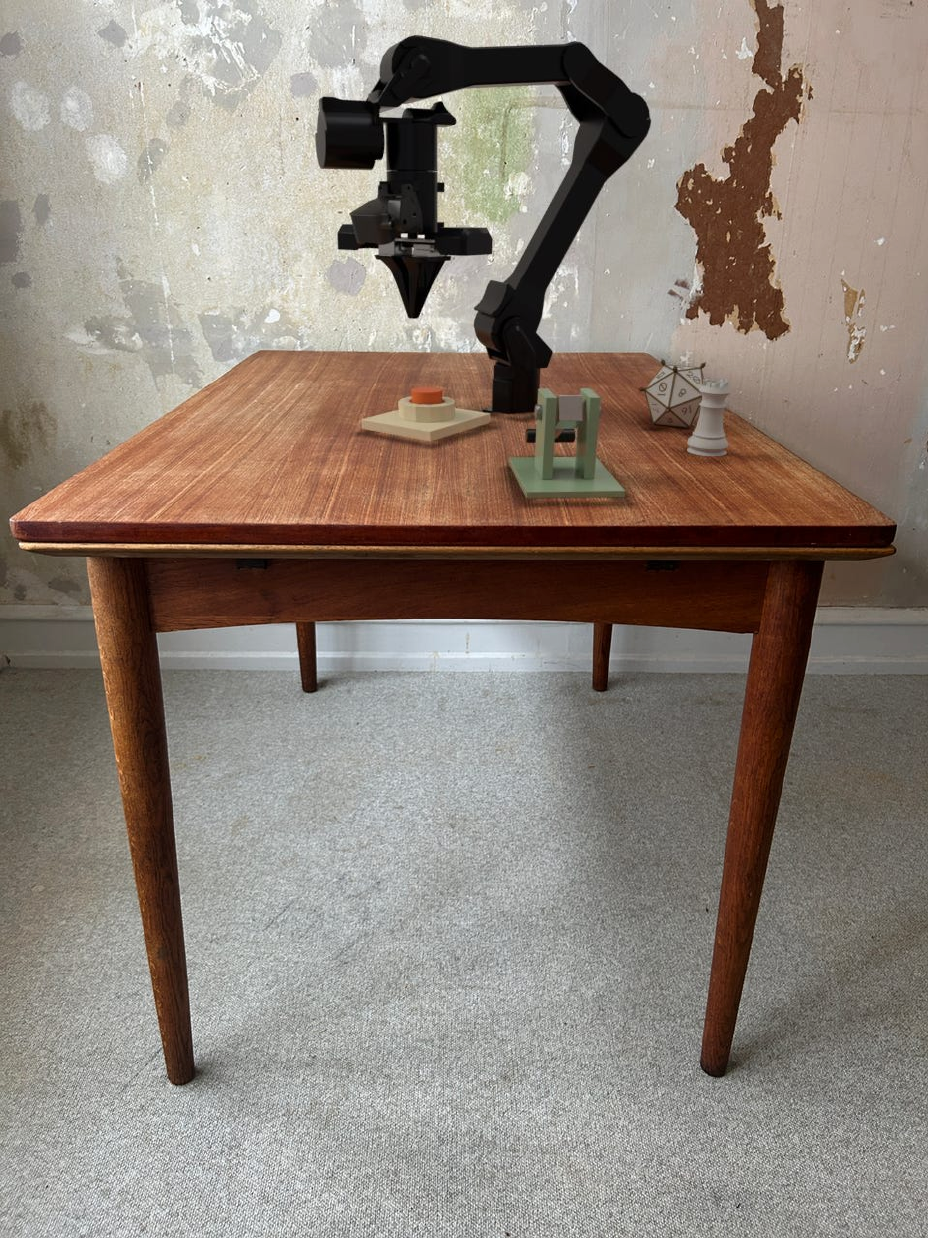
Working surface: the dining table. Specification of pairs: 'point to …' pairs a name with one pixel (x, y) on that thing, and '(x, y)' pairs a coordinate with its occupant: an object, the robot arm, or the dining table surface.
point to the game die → (675, 395)
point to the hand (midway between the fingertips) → (413, 318)
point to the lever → (563, 419)
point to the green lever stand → (565, 473)
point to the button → (426, 395)
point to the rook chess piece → (710, 420)
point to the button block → (426, 420)
